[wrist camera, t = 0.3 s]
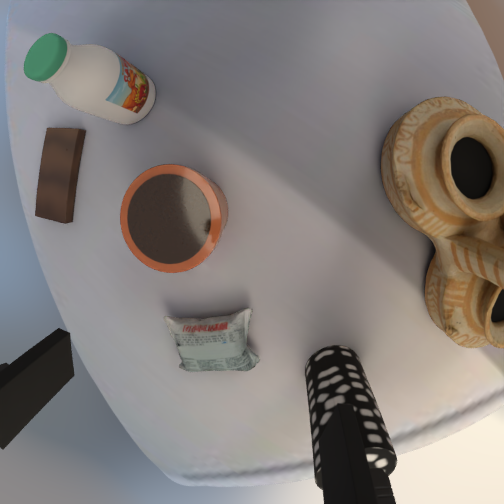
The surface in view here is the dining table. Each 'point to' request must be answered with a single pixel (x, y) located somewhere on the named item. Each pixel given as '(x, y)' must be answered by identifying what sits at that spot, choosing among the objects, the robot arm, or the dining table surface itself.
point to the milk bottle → (91, 79)
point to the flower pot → (173, 217)
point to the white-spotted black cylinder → (345, 392)
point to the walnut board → (59, 174)
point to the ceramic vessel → (453, 211)
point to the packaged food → (213, 342)
